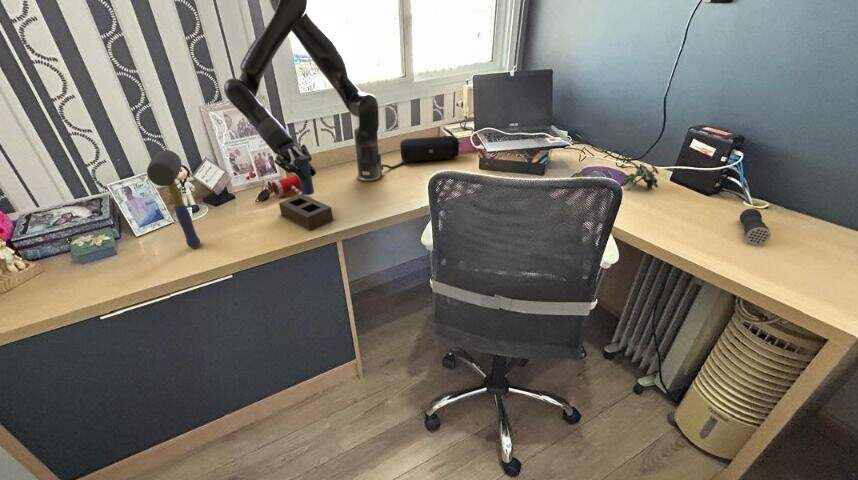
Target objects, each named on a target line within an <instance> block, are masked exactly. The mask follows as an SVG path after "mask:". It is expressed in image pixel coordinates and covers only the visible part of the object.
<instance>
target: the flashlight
mask: <svg viewBox="0 0 858 480" xmlns="http://www.w3.org/2000/svg"><path fill="white" fill-rule="evenodd" d="M762 217H763V215H762V213H761V211H760V210H758V209H757V208H746V209H744V210H743V211H742V212H741V213H740V214H739V221H740V223H741V225H743V227H744V229H743V231H744V236H745V239H746V241H747V242H748V243H749V244H750V245H753V246H760V245H763V244H766V243H767V242H768V241H769V240H770V239H771V237H772V234H771V232H770V229H769V227H768V226H767V225H766V223H765V222H764V221H763V219H762Z"/></svg>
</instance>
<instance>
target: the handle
mask: <svg viewBox="0 0 858 480" xmlns="http://www.w3.org/2000/svg"><path fill="white" fill-rule="evenodd" d="M296 163H297V165H298V167H299V168H300V169H301V170H302V171H303V172H304V174H305V175H306V176H307V179H306V180H305V181H302V180H301V179H300V178H299V179H300V184H301V189H300V191H301V192H302V194H303V195H307V196H310V195H313V194H314V193H315V189H314V184H313V176H311V170H310V164H311V163H310V164H309V158H308V156H305V155H302V156H298V157H296Z"/></svg>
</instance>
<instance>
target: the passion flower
mask: <svg viewBox="0 0 858 480" xmlns="http://www.w3.org/2000/svg"><path fill="white" fill-rule="evenodd" d="M634 168H635V169H636V172H635V173H630V174H628V175H626V174H625V172H623V171H621V173H620V174H619V177H620V178H621V177H622V176H624V178H623V181H625V182H624V183H623V186H625V185H626V184H627V183H629V184H630V186H629V187H628V190H630V189H631V188H633V187H634V186H636V185H637V183H639V182H640V181H641V180H643V182H644V183H646V189H648V190H653V187H655V188H656V189H657V188H659V185H658V178H656V177H655V176H656V174H657V175H658V174H659V170H658V168H657V167H656V166H655V165H651V168H652V170H649V169H648V168H647V166H646V165H644V164H642V163H640V164H639V165H637V163H635V164H634ZM654 172H655V174H654ZM638 177H640V178H639V179H638V180H636V178H638Z"/></svg>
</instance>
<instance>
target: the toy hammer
mask: <svg viewBox="0 0 858 480" xmlns="http://www.w3.org/2000/svg"><path fill="white" fill-rule="evenodd" d="M270 185H271V190H272V192H273V194H274V195H275V196H276V197H278V198H280V197H282V196H284V194H286V193H290V192H295V193H296V194H298V195H301V194H302V190H301V184H300V179H299V177H298V176H297V175H296V174H295V173H293V174H292V175H291V176H287V177H285V178H282V179H274V180H272V181H271V184H270ZM305 196H308V197H310V195H305Z"/></svg>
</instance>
